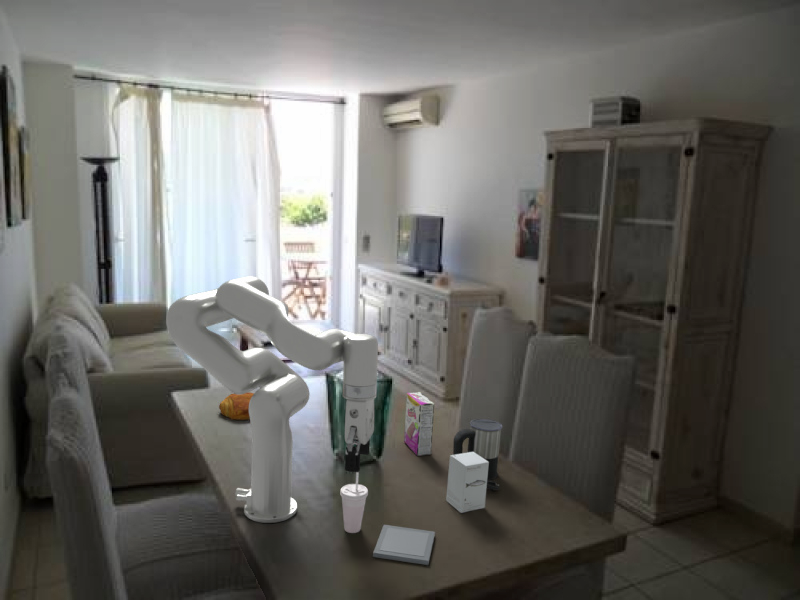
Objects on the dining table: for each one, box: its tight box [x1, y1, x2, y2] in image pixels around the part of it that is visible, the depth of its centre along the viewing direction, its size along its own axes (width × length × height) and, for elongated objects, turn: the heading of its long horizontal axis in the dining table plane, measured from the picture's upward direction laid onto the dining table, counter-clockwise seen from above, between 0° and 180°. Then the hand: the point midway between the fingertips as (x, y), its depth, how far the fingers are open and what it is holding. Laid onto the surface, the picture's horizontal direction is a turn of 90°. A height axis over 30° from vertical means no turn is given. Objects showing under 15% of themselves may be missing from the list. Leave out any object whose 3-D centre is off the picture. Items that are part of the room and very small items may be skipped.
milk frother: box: [452, 418, 503, 492], centre depth 175 cm, size 14×16×15 cm
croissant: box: [218, 391, 255, 421], centre depth 216 cm, size 14×16×8 cm
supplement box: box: [445, 452, 489, 514], centre depth 161 cm, size 7×7×13 cm
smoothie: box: [339, 471, 369, 534], centre depth 146 cm, size 6×6×14 cm
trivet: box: [372, 524, 436, 566], centre depth 141 cm, size 12×12×1 cm
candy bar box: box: [403, 391, 435, 457], centre depth 194 cm, size 11×5×16 cm, turn 22°
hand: (357, 462), depth 144 cm, fingers open, 9 cm apart
